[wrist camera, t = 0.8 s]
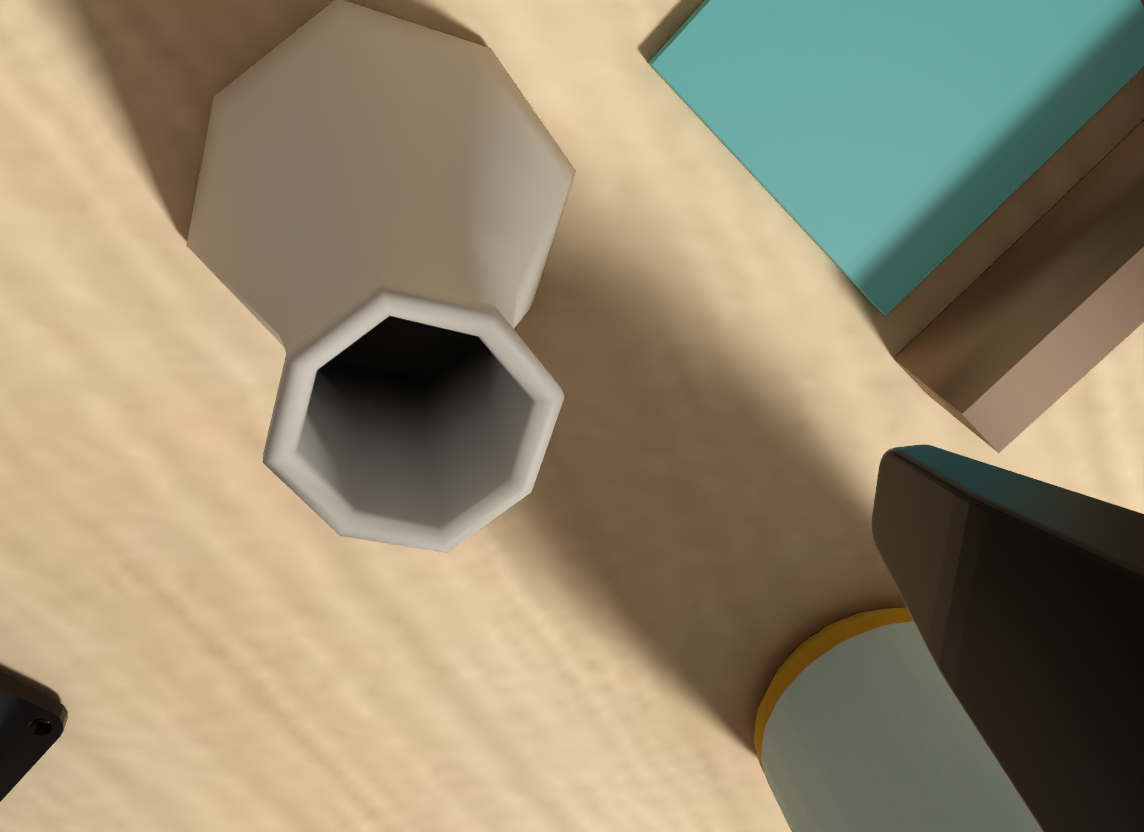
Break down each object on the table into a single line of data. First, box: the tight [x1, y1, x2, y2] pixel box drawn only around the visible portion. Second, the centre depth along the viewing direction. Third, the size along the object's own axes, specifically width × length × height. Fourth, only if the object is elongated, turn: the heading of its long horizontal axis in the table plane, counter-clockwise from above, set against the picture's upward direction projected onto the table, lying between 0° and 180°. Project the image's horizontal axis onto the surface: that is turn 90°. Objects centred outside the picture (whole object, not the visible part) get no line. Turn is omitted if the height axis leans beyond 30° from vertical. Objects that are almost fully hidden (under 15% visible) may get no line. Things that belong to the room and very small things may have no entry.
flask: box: [187, 0, 576, 553], centre depth 15 cm, size 7×7×10 cm
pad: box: [648, 0, 1144, 316], centre depth 20 cm, size 8×8×1 cm
